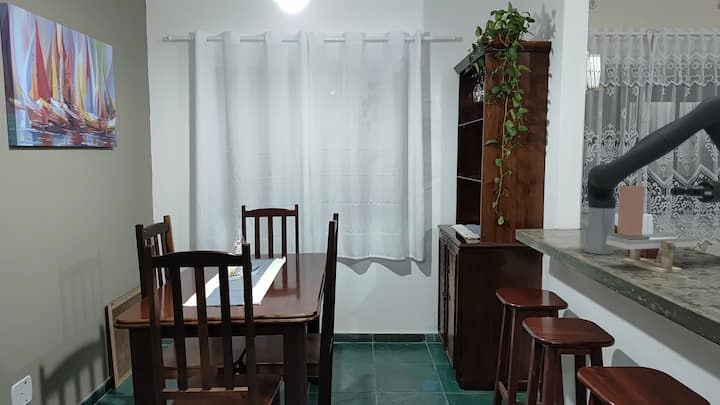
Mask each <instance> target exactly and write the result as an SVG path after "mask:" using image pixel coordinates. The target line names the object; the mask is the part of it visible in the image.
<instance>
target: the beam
mask: <svg viewBox="0 0 720 405" xmlns="http://www.w3.org/2000/svg"><path fill="white" fill-rule="evenodd" d="M642 235H644V236H649V240H625V239H621V238H617V237H612V236H607V237H606V244H608V245H612V246H613V247H617V248H620V249H621V248H622V249H625V250H631V249H641V250H647V249H648V250H649V249H662V241H670V242H674V245H675V246H676V248H687V247H688V248H690V247H698V241H699V240H698V239H699V237H678V236H674V233H673V232H666V233H664V232H663V233H642Z"/></svg>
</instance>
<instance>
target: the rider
mask: <svg viewBox="0 0 720 405" xmlns="http://www.w3.org/2000/svg"><path fill="white" fill-rule="evenodd" d="M618 190H619V191H618V192H619V193H618V194H619V196H618V209H617V210H618V213H617V226H618V231H617V233H614V234H610V236H612V237H617V238H621V239H625V240H649V236H644V235H642V234H643V223H644V222H643V220H644V205H645V204H644V203H645V186H642V185H641V186H640V185H619V189H618Z"/></svg>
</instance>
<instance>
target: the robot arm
mask: <svg viewBox="0 0 720 405" xmlns="http://www.w3.org/2000/svg"><path fill="white" fill-rule="evenodd" d="M702 130H703V131H704V132H705V133H706V135H707V136H708V137H709V139H710V140H711V141H712V143H713V144H714V145H715V148H716V149H717V150H718V152H719V153H720V95H713V96H710V97H707V98H705V99H704V100H702V101H701V102H700V103H698V104H697V105H696V106H695V107H694V108H693V109H692V110H690V111H689V112H688V113H686V114H684V115H683V116H680V117H679V118H677V119H675V120H672V121H671V122H669V123H667V124H665V125H663V126H661V127H660V128H658V129H656V130H654V131H652V132H651V133H649V134H647V135H646V136H644V137H643V138H641V139H640V140H638V142H636V143H635V144H634V145H633V146H631V148H630V149H628V151H627V152H625V153H624V154H623V155H620V157H617V158H616V159H614V160H612V161H610V162H608V163H605V164H596V165H595V166H593V167H591V169H589V172H588V175H587V186H586V189H587V190H586V192H587V193H586V194H587V195H586V196H587V202H588V204H587V205H588V207H587V225H586V226H585V227H584V241H583V242H584V244H583V251H584V252H585V253H588V254H589V253H590V254H594V255H613V254H614V249H615V248H614V247H615V246H612V245H608V244H606V237H607V236H610V234H614V227H615V225H616V224H615V222H616V205H617V204H616V203H617V202H616V199H615V196H614V194H615V193H614V187H616V186H617V185H619V184H620V183H621V182H623V181H624V180H625V179H627V178H629V177H630V176H631V175H632V174H634V173H635V172H637V171H639V170H641V169H643V168H645V167H647V166H648V165H650V164H652V163H654V162H656V161H657V160H660V159H661V158H663V157H665V155H667V154H669V153H671V152H673V151H674V150H675V149H677V148H678V147H680V146H681V145H683V143H685V142H686V141H688V140H689V139H690V138H692V136H695V135H696V134H697V133H698V132H700V131H702ZM669 194H670V195H673V196H683V197H689V198H696V200H698V201H699V202H701V203H704V204H720V180H703V181H702V180H701V181H700V182H699V183H698V184H697V185H693V184H691V185H690V186H689V185H685V186H682V185H680V186H676V187H671V188H670V193H669Z"/></svg>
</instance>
